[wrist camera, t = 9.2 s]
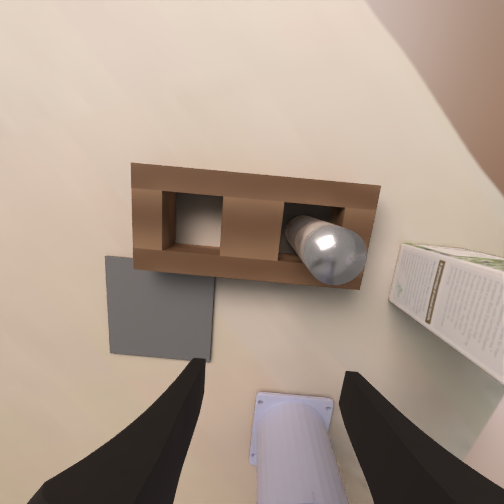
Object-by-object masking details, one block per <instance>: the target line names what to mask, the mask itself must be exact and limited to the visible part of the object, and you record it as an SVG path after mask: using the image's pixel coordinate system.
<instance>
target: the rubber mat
mask: <svg viewBox="0 0 504 504" xmlns="http://www.w3.org/2000/svg"><path fill="white" fill-rule="evenodd" d="M105 268H106V287H107V305H108V324H109V343H110V353H115V354H126V355H137V356H148V357H159V358H170V359H181V360H192V359H193V358H203V359H206V362H210V354H211V336H212V319H213V301H214V283H215V277H212V276H201V275H190V274H179V273H168V272H157V271H146V270H135V269H134V267H133V258H126V257H115V256H105Z"/></svg>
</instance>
